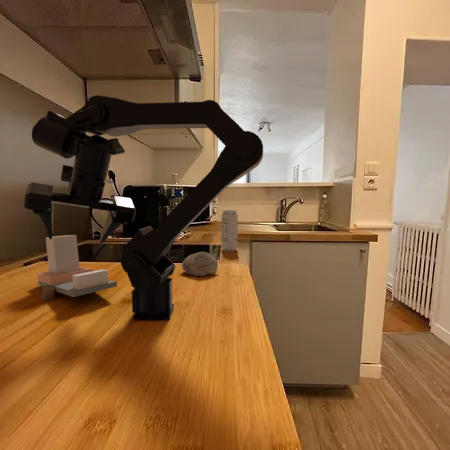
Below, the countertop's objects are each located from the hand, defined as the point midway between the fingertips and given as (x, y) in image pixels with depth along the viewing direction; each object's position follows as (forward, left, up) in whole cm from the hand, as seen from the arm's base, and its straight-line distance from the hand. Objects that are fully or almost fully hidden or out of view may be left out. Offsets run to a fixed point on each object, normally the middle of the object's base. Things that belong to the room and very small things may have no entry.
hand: (76, 240), depth 61 cm
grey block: (+7, -9, -11) cm, 16 cm away
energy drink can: (-34, -51, -13) cm, 62 cm away
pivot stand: (+3, -5, -13) cm, 14 cm away
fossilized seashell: (-25, -22, -13) cm, 35 cm away
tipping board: (+3, -5, -11) cm, 12 cm away
